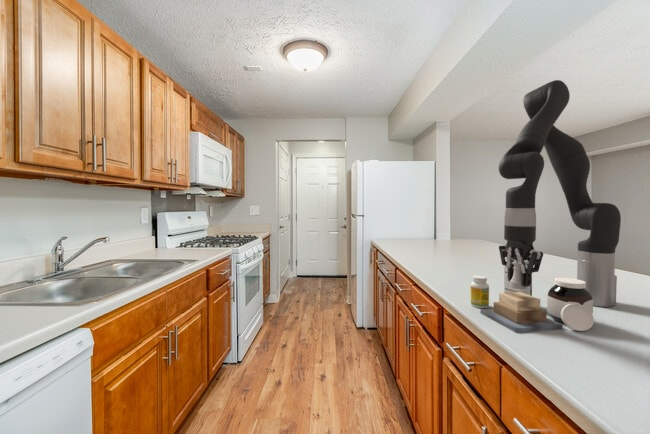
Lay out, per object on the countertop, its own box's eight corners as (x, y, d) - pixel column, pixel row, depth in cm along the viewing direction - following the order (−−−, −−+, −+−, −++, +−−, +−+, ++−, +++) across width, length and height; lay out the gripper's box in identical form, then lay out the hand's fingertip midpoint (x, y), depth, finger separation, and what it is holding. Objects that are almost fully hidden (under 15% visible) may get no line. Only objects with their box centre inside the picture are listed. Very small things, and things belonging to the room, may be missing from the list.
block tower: (521, 310, 94) (521, 288, 93) (562, 328, 80) (563, 302, 79) (480, 313, 92) (480, 290, 91) (515, 332, 78) (515, 305, 78)
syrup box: (520, 308, 95) (520, 263, 95) (503, 302, 101) (503, 260, 100) (532, 306, 97) (533, 261, 97) (514, 300, 103) (515, 258, 102)
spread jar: (570, 314, 89) (571, 276, 89) (613, 330, 78) (614, 286, 78) (536, 318, 87) (536, 278, 87) (574, 334, 76) (575, 289, 76)
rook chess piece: (505, 285, 87) (506, 258, 87) (520, 285, 88) (520, 258, 87) (516, 289, 83) (517, 261, 83) (531, 289, 83) (532, 261, 83)
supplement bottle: (476, 302, 102) (476, 274, 101) (492, 306, 97) (492, 277, 97) (467, 305, 99) (467, 276, 98) (483, 309, 94) (483, 279, 94)
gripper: (554, 225, 78) (552, 290, 79) (512, 222, 92) (511, 277, 93) (528, 226, 77) (527, 291, 78) (490, 222, 91) (489, 278, 92)
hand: (518, 283), depth 85 cm, fingers closed on rook chess piece, 4 cm apart
